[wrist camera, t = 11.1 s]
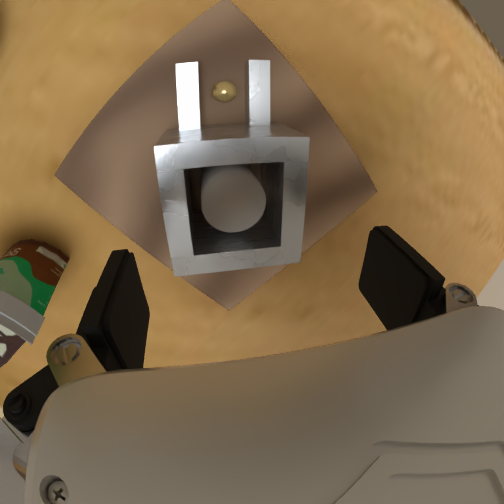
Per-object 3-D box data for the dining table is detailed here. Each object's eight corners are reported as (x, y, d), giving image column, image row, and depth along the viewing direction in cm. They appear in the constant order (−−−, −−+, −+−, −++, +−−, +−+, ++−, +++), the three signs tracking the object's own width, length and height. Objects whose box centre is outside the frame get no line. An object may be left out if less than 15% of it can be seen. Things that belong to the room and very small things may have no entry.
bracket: (276, 219, 21) (300, 262, 16) (178, 228, 20) (174, 276, 15) (278, 62, 15) (311, 54, 10) (162, 68, 14) (147, 58, 9)
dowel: (235, 92, 15) (241, 92, 13) (220, 104, 16) (224, 107, 14) (222, 78, 15) (226, 76, 13) (207, 91, 15) (208, 91, 13)
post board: (368, 184, 22) (415, 219, 17) (227, 299, 26) (237, 355, 20) (223, 3, 13) (237, -33, 7) (62, 168, 17) (18, 204, 11)
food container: (31, 197, 17) (-39, 272, 9) (78, 249, 20) (35, 342, 12) (-17, 273, 19) (-59, 342, 11) (22, 310, 22) (-10, 385, 14)
